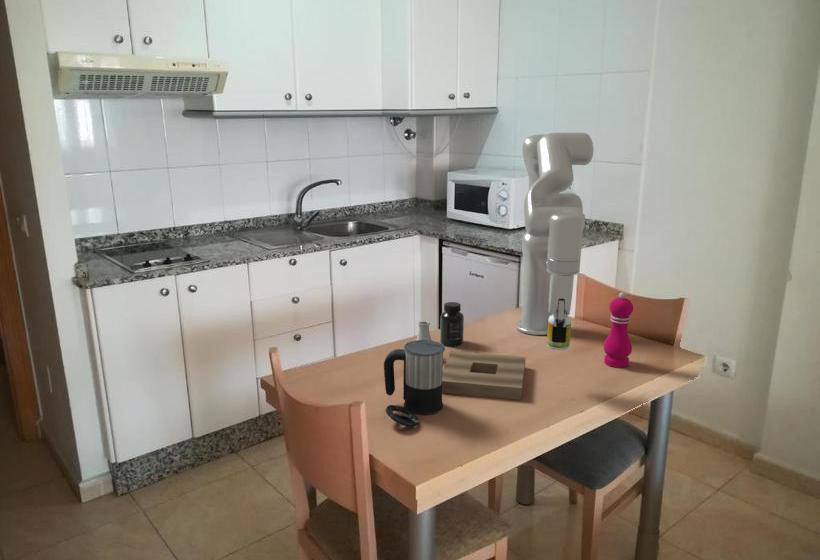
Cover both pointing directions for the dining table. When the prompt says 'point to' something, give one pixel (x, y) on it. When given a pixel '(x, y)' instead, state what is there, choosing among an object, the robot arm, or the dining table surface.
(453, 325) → the supplement bottle
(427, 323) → the flask
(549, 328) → the supplement bottle
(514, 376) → the block
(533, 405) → the dining table surface
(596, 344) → the dining table surface
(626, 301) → the pepper mill
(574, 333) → the dining table surface
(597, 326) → the dining table surface
